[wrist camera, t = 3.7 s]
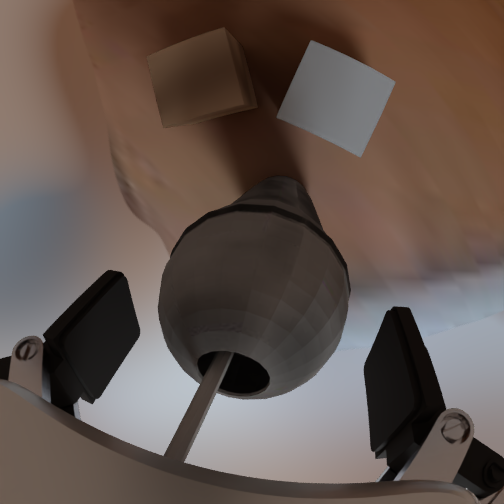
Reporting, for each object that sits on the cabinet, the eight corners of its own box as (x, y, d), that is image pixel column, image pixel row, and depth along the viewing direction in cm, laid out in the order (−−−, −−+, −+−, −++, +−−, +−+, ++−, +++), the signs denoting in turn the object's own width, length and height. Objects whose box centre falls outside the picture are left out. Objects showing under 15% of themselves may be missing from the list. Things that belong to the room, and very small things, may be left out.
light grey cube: (309, 59, 15) (310, 40, 11) (373, 90, 16) (395, 81, 11) (282, 118, 18) (276, 117, 13) (346, 148, 18) (360, 157, 14)
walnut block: (179, 66, 17) (146, 56, 13) (242, 46, 16) (224, 27, 11) (194, 124, 19) (163, 128, 15) (258, 107, 18) (243, 104, 13)
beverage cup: (342, 229, 21) (387, 536, 3) (258, 260, 23) (170, 523, 6) (304, 141, 18) (300, 534, 1) (216, 182, 21) (-9, 409, 3)
